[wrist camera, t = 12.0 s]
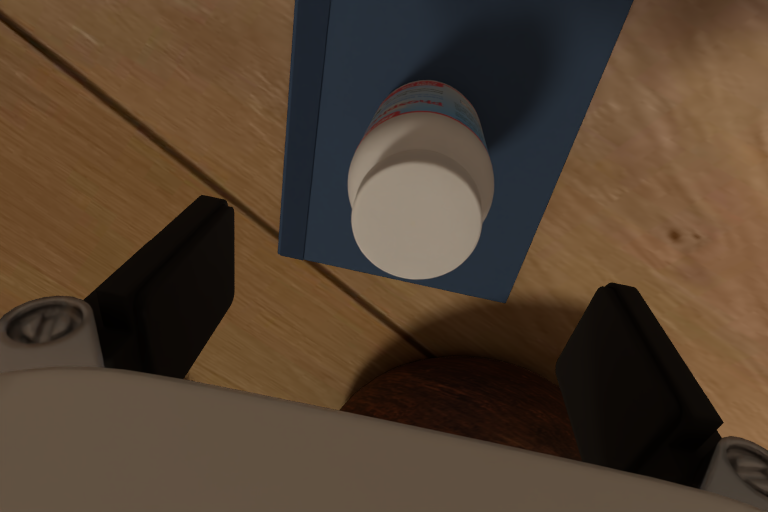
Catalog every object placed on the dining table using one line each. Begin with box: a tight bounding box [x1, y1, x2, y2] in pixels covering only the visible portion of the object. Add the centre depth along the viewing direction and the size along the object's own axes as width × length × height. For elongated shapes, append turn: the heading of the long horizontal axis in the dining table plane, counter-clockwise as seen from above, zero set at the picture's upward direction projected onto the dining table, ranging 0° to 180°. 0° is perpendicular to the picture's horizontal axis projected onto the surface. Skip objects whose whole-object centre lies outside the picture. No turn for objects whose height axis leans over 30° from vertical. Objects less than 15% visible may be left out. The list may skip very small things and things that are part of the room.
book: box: [278, 0, 633, 303], centre depth 25 cm, size 20×16×1 cm
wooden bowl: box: [339, 356, 582, 462], centre depth 34 cm, size 25×25×10 cm
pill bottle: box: [348, 80, 494, 279], centre depth 20 cm, size 6×6×11 cm
